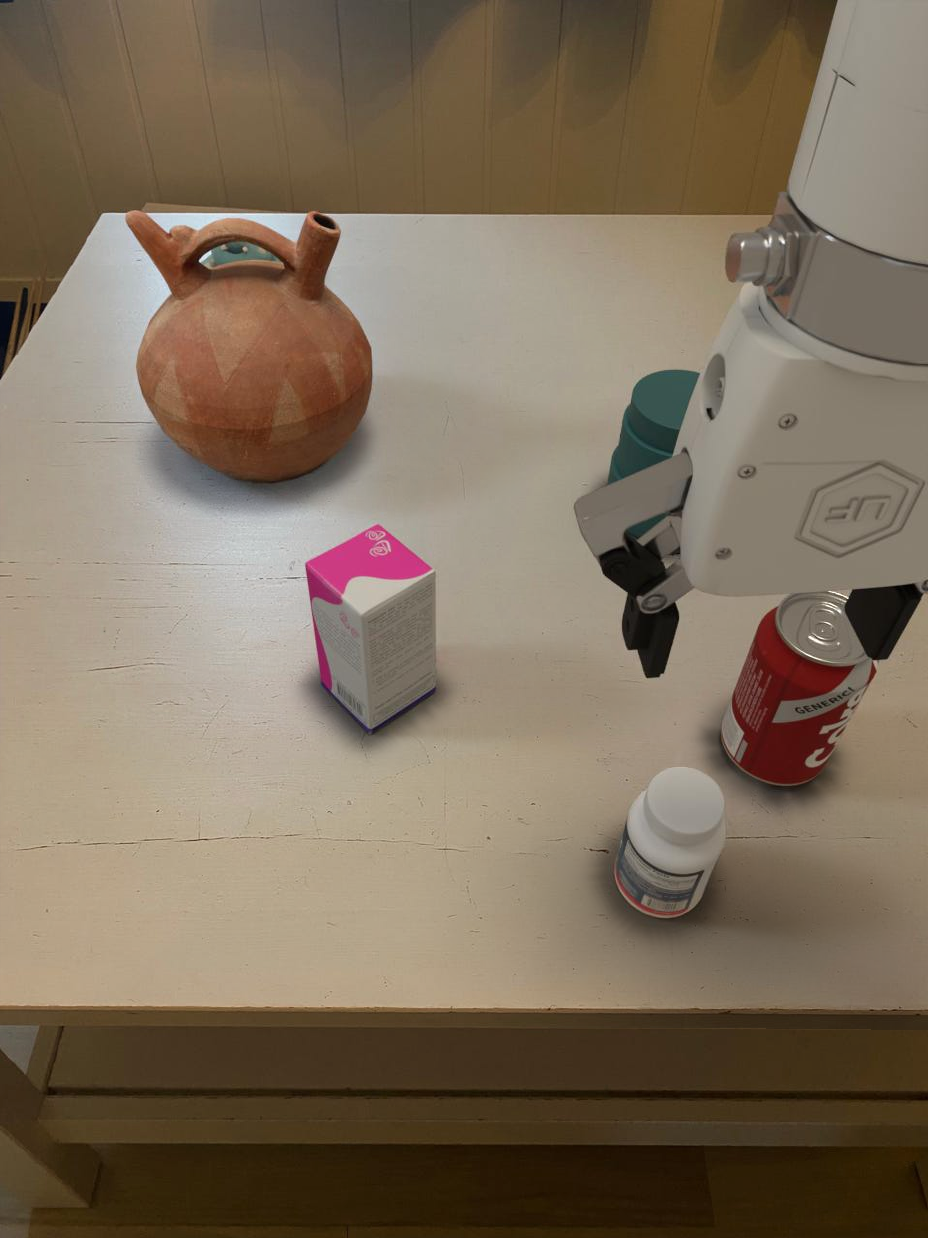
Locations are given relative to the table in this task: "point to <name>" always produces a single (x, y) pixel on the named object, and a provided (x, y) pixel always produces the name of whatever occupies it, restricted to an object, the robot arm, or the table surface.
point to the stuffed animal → (237, 254)
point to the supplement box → (374, 626)
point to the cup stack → (652, 429)
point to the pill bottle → (671, 842)
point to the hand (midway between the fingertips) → (755, 643)
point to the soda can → (796, 690)
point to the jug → (252, 349)
